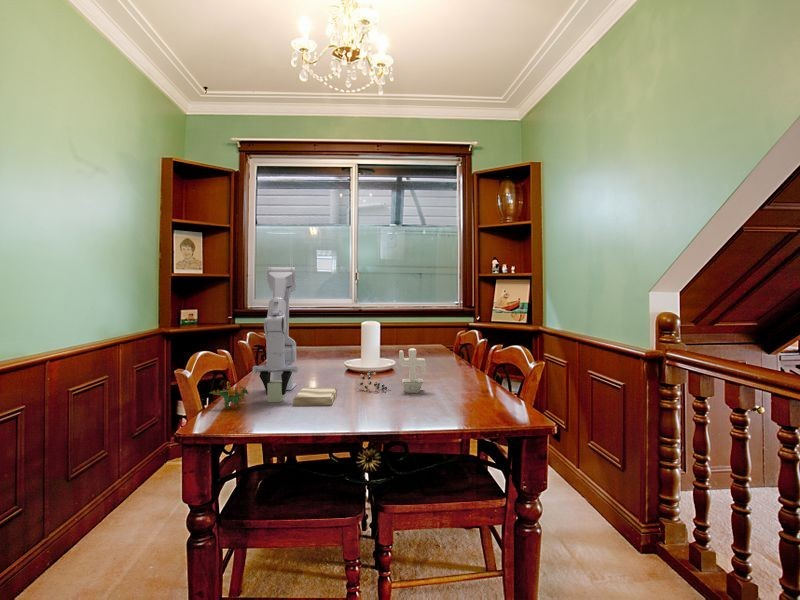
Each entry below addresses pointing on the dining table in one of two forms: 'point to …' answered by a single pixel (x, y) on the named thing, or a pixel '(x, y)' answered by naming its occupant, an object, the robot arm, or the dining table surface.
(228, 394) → the figurine
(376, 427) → the dining table surface
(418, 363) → the figurine
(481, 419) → the dining table surface
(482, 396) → the dining table surface
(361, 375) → the molecule model
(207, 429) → the dining table surface
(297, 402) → the birch base
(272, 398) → the sage block
